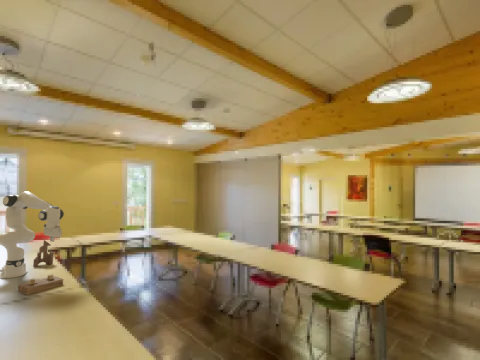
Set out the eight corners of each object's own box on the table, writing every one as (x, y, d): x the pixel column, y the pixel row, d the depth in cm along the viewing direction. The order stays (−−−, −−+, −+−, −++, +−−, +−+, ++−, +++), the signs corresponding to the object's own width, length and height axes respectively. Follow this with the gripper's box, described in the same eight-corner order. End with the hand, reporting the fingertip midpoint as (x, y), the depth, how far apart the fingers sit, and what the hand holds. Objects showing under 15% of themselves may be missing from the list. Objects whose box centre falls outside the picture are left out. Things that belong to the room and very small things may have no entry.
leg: (34, 288, 194) (34, 278, 194) (36, 289, 192) (36, 279, 192) (28, 290, 191) (28, 279, 191) (29, 291, 189) (30, 281, 189)
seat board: (18, 291, 189) (18, 285, 189) (53, 281, 210) (53, 275, 211) (27, 294, 183) (28, 288, 183) (62, 284, 204) (63, 278, 204)
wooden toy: (33, 267, 244) (34, 241, 245) (33, 265, 249) (34, 240, 250) (52, 264, 254) (54, 240, 255) (52, 263, 259) (54, 239, 260)
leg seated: (46, 285, 201) (46, 275, 201) (51, 283, 204) (51, 274, 205) (48, 286, 199) (49, 276, 200) (53, 284, 203) (54, 274, 203)
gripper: (64, 225, 211) (63, 242, 210) (50, 223, 220) (49, 239, 219) (56, 226, 205) (55, 243, 205) (42, 224, 214) (41, 240, 214)
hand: (52, 241), depth 212 cm, fingers closed
